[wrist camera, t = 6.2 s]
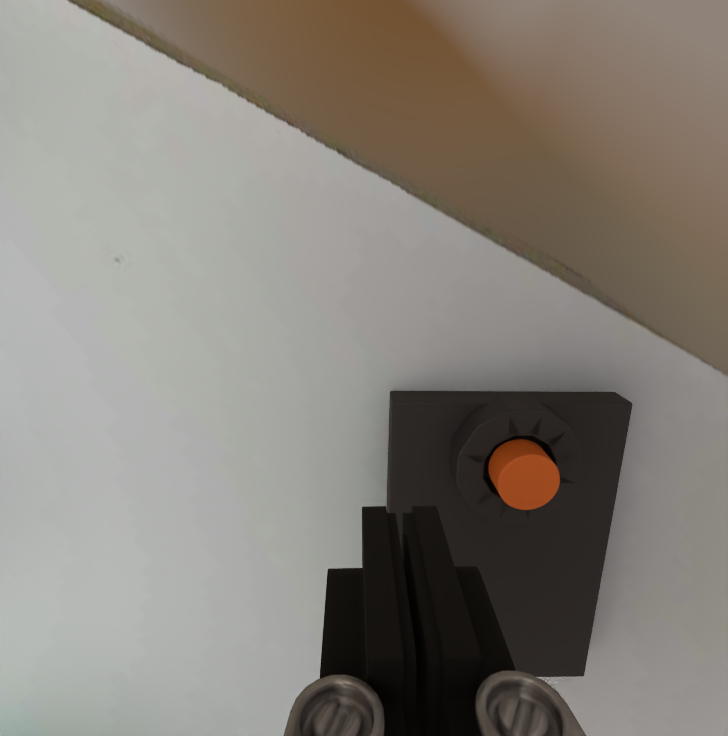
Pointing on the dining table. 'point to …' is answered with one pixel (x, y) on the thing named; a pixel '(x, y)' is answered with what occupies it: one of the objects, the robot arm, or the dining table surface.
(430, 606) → the robot arm
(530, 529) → the scale
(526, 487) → the button
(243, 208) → the dining table surface
